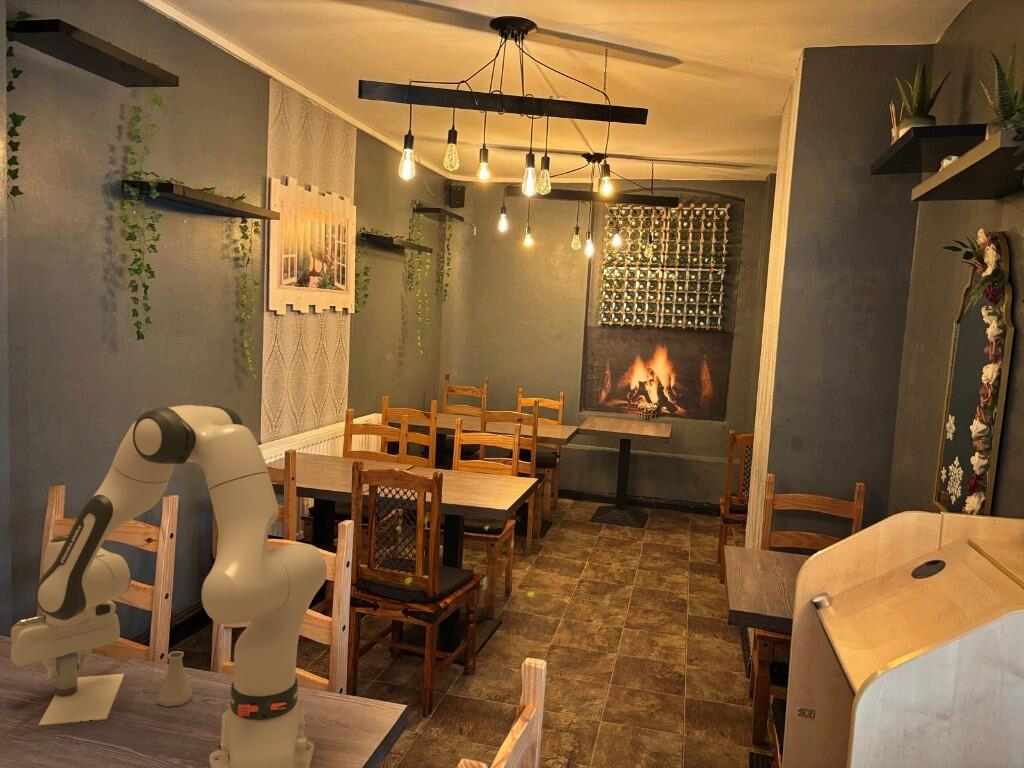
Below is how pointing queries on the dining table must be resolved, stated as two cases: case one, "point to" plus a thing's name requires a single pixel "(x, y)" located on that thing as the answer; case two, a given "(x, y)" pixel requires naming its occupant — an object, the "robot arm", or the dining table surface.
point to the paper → (84, 701)
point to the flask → (175, 683)
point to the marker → (67, 674)
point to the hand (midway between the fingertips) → (66, 673)
